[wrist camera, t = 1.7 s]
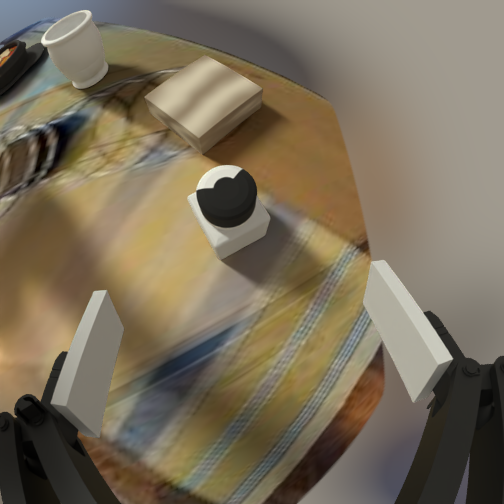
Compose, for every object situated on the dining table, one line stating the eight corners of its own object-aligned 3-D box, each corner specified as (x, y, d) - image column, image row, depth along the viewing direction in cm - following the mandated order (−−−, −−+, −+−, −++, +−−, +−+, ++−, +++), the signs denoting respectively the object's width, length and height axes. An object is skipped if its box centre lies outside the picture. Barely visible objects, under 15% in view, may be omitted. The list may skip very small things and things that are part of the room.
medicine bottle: (266, 235, 40) (277, 201, 28) (219, 261, 39) (210, 237, 27) (240, 192, 41) (240, 146, 29) (194, 216, 40) (177, 177, 28)
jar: (62, 84, 46) (33, 39, 31) (97, 54, 48) (76, 7, 33) (83, 99, 45) (52, 48, 30) (122, 67, 47) (101, 12, 32)
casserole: (-23, 123, 44) (-40, 107, 36) (-18, 87, 47) (-31, 73, 39) (48, 66, 48) (35, 44, 39) (46, 38, 51) (36, 20, 43)
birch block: (151, 115, 44) (144, 97, 39) (207, 74, 47) (205, 55, 42) (202, 156, 43) (198, 138, 38) (260, 108, 45) (262, 88, 40)
